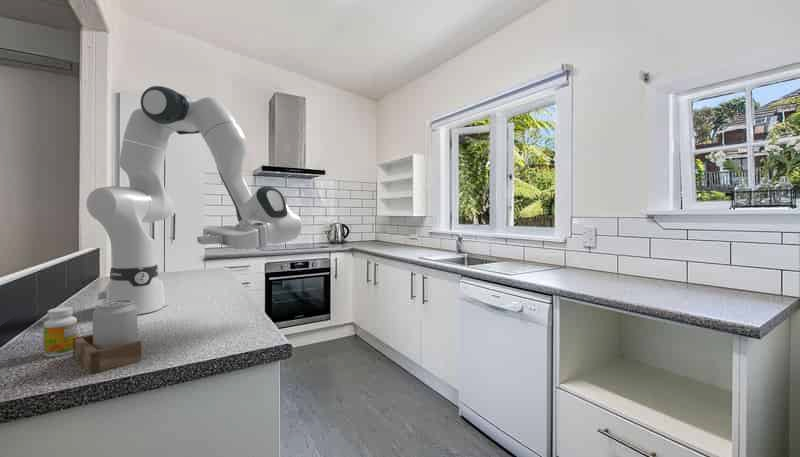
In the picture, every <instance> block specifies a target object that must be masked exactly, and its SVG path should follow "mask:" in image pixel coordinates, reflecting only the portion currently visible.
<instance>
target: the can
mask: <svg viewBox="0 0 800 457" xmlns="http://www.w3.org/2000/svg"><path fill="white" fill-rule="evenodd" d="M95 305H96V306H97V308H96V309H94V310H93V311H92V334H93V347H94V348H96V349H97V350H102V349H106V348H110V347H115V346H119V345H123V344H127V343H131V342H136V341H139V339H138V315H137V306H135V305H134V304H133V300H129V299H122V300H112V301H106V302H102V301H101V302H99V303H96V304H95Z"/></svg>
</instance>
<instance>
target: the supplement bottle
mask: <svg viewBox="0 0 800 457" xmlns="http://www.w3.org/2000/svg"><path fill="white" fill-rule="evenodd" d="M73 312H74V308H73V307H72V306H62V307H56V308H55V307H54V308H51V309H49V310H47V318H48V319H47V320H45V321H44V322H43V355H44V356H45V357H59V356H65V355H68V354H71V353H72V354H73V338H76V337H79V336H78V319H77V317H76V316H73Z"/></svg>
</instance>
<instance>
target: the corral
mask: <svg viewBox="0 0 800 457" xmlns="http://www.w3.org/2000/svg"><path fill="white" fill-rule="evenodd" d="M72 356H73V358H74V359H75V360H76V361H77V362H79V363H80V364H81V366H83V367H84V368H85V369H86V370H87V371H89V373H90V374H91V375H95V374H98V373H102V372H104V371H105V372H106V371H109V370H112V369H116V368H119V367H123V366H126V365H132V364H134V363H139V362H141V361H142V341H140V340H138V341H136V342H131V343H127V344H123V345H119V346H115V347H110V348H106V349H102V350H97V349H96V348H94V347H93V333H92V334H87V335H86V334H85V335H83V336H82V335H81V336H78V337H76V338H73V352H72Z"/></svg>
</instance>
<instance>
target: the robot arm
mask: <svg viewBox="0 0 800 457" xmlns="http://www.w3.org/2000/svg"><path fill="white" fill-rule="evenodd" d="M173 133H177V134H178V135H191V134H192V135H193V134H200V136H201V137H202V138H203V140H204V141H205V143H206V145H207V147H208V149H209V150H210V153H211V155H212V157H213V160H214V162H215V164H216V168H217V171H218V174H219V176H220V179H221V181H222V182H223V185H224V187H225V189H226V191H227V193H228V195H229V197H230V199H231V201H232V202H233V206H234V208H235V211H236V218H237V221H238V223H236V224H235V226H233V225H220V226H209V227H204V228H203V229H202V236H197V238H196V242H197V243H198V244H200V245H205V246H206V245H221V246H225V247H228V248H230V249H231V248H232V249H235V250H252V249H258V250H262V249H263V250H264V249H267V248H268V245H278V244H284V243H285V244H286V243H287V242H291V241H293V240H295V239H297V238H298V237H299V236H300V234H301V232H302V228H303V224H302V220H301V218H300V216H299V215H298V214H296V213H295V212H293V210H292V209H291V208H290V206H288V204H287V202H286V199H285V197H284V194H283V193H282V192H281V191H280V190H279V189H278V188H276V187H274V186H270V185H262V186H261V187H259V188H258V189H257V190H256V191H255V192H254V193H253V194H252V192H251V190H250V189H249V187H248V184H247V182H246V179H245V178H244V174H243V167H244V161H245V157H246V155H247V151H248V140H247V138H246V136H245V133H244V131H243V129H242V128H241V126H240V125H239V123H238V122H237V120H236V118H235V117H234V116H233V114H232V113H231V111H230V110H229V109H228V108H227V107H226V106H225V105H224V104H223V102H221V101H220V100H219V99H217V98H215V97H209V96H207V97H203V98H200V99H198V100H194V99H193V98H192V97H190V96H188V95H187V94H184V93H182V92H178V91H176V90H174V89H172V88H170V87H166V86H160V85H154V86H149V87H148V88H147V89H145V90H144V92H143V93H142V95H141V96H140V108H137V109H135V110H133V111H132V112H131V115H130V117H129V119H128V122H127V125H126V127H125V130H124V133H123V134H124V135H123V137H122V138H123V140H122V145H121V150H120V154H119V161H118V164H119V167H120V169H121V170H122V171H124V173H126V175H127V177H128V181H129V187H127V186H118V185H116V186H115V185H111V186H105V187H97V188H95V189H93V190H92V191H91V192H89V195H88V196H87V198H86V209H87V212H88V213H89V215H90V216H91V217H92V218H93V219H95V220H96V221H97V222H99V223H100V224H101V225H102V227H103V229H104V230H105V231H106V233H107V236H108V238H109V241H110V246H111V247H110V248H111V259H112V260H111V261H112V262H111V263H112V267H111V268H110V271H109V282H108V284H107V285H106V287H105V288H104V290H102V292H101V291H100V292H98V293H97V298H98V301H100V300H101V303H102V302H106V301H112V300H122V299H129V300H133V304H134V305H135V306H137V316H138V315H142V314H147V313H152V312H156V311H158V310H161V309H163V308H164V307H167V306H169V305H170V302H169V301H168V300H165V294H164V283H163V281H162V279H160V278H158V275H159V268H158V267H159V266H158V265H157V247H156V245H157V244H156V241H155V239H154V238H152V237H151V236H150V235H149V234H147V232H146V230H145V228H144V224H143V223H156V222H159V221H162V220H165V219H168V218H169V217H170V216H171V215H172V213H173V211H174V202H173V199H172V198H171V197H170V195H169V194H168V193H167V191H166V188H165V182H164V175H163V173H164V165H165V159H166V153H167V148H168V142H169V139H170V137H171V135H172V134H173ZM96 305H97V304H95V306H94V308H95V309H96V308H97V306H96ZM95 309H94V310H95Z"/></svg>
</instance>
